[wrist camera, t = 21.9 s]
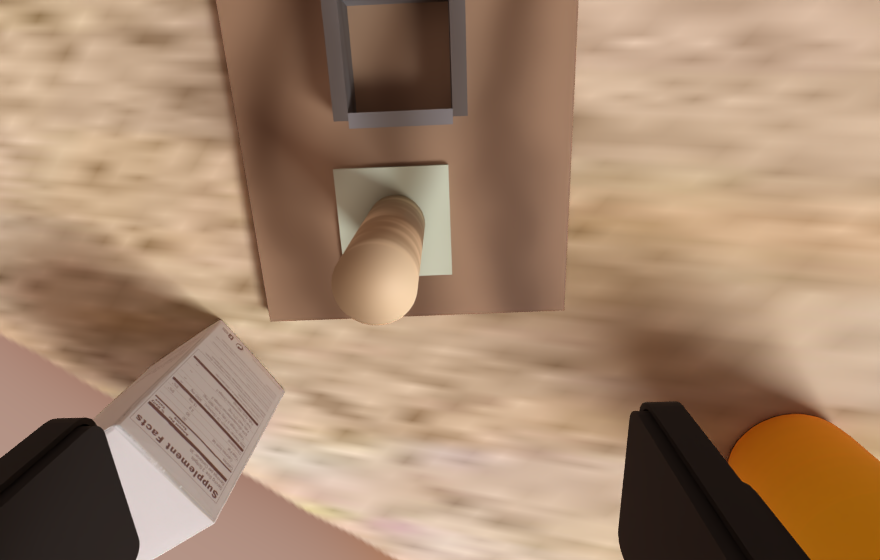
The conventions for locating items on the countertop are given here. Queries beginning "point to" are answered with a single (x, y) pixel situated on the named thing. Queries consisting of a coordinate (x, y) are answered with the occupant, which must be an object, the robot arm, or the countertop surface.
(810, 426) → the beer bottle
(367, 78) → the eye board
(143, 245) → the countertop surface
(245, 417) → the supplement box
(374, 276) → the oak peg
